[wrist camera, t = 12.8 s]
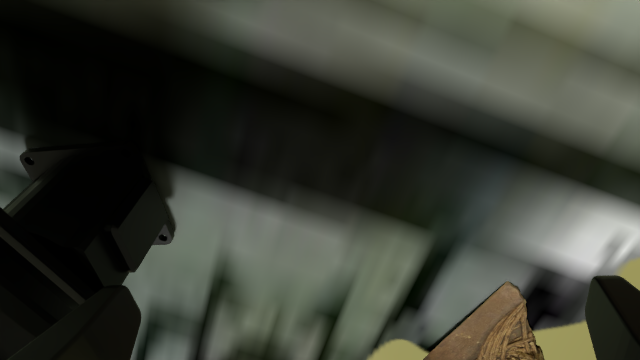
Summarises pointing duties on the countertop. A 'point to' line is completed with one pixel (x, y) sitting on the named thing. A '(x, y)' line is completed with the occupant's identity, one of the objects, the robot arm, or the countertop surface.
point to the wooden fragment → (492, 332)
